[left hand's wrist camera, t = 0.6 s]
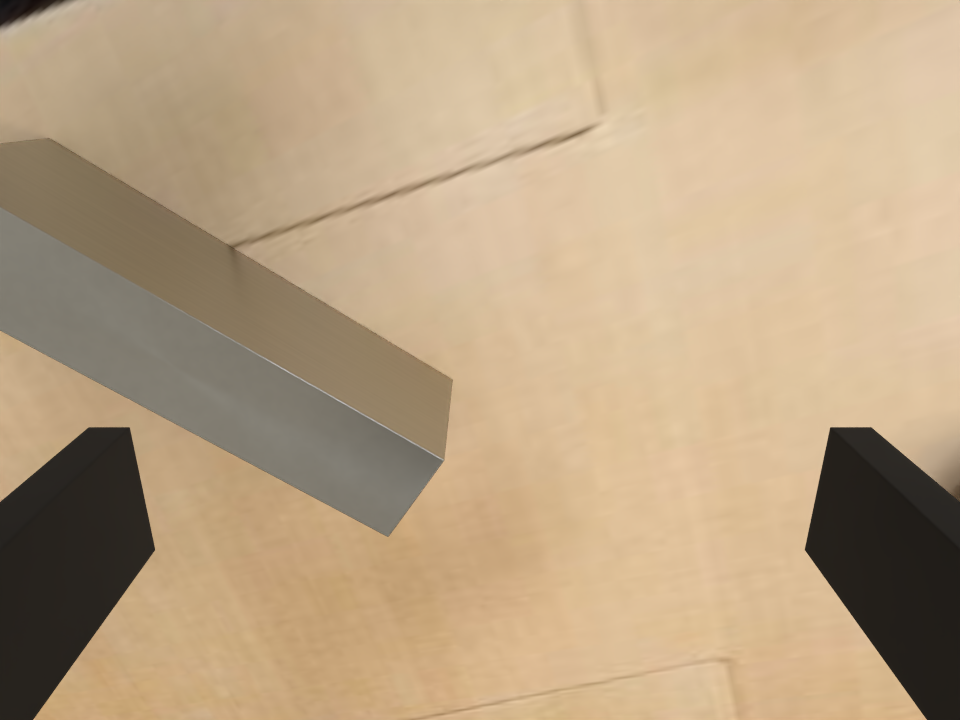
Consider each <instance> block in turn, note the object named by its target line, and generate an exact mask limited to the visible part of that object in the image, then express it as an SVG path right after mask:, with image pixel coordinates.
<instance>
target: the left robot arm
mask: <svg viewBox="0 0 960 720" xmlns="http://www.w3.org/2000/svg"><path fill="white" fill-rule="evenodd" d="M154 551H155V547H154V542H153V537H152V532H151V528H150V523H149V518H148V513H147V508H146V504H145V499H144V494H143V489H142V484H141V480H140V475H139V470H138V465H137V460H136V456H135V451H134V446H133V441H132V436H131V432H130V427H89V428H88V429H86V430H85V431H84V432H83V433H82V434H80V435H79V436H78V437H77V438H76V439H74V440H73V441H72V442H71V443H70V444H69V445H67V446H66V447H65V448H64V449H63V450H61V451H60V452H59V453H58V454H57V455H56V456H54V457H53V458H52V459H51V460H50V461H48V462H47V463H46V464H45V465H44V466H42V467H41V468H40V469H39V470H38V471H37V472H35V473H34V474H33V475H32V476H31V477H29V478H28V479H27V480H26V481H25V482H23V483H22V484H21V485H20V486H19V487H18V488H16V489H15V490H14V491H13V492H12V493H10V494H9V495H8V496H7V497H6V498H4V499H3V500H2V501H1V502H0V720H33V719H34V718H35V716H36V715H37V714H38V712H39V711H40V709H41V708H42V707H43V705H44V704H45V702H46V701H47V700H48V698H49V697H50V695H51V694H52V693H53V691H54V690H55V688H56V687H57V686H58V684H59V683H60V682H61V680H62V679H63V677H64V676H65V675H66V673H67V672H68V670H69V669H70V668H71V666H72V665H73V663H74V662H75V661H76V659H77V658H78V656H79V655H80V654H81V652H82V651H83V650H84V648H85V647H86V645H87V644H88V643H89V641H90V640H91V638H92V637H93V636H94V634H95V633H96V631H97V630H98V629H99V627H100V626H101V624H102V623H103V622H104V620H105V619H106V618H107V616H108V615H109V613H110V612H111V611H112V609H113V608H114V606H115V605H116V604H117V602H118V601H119V599H120V598H121V597H122V595H123V594H124V592H125V591H126V590H127V588H128V587H129V586H130V584H131V583H132V581H133V580H134V579H135V577H136V576H137V574H138V573H139V572H140V570H141V569H142V567H143V566H144V565H145V563H146V562H147V560H148V559H149V558H150V556H151V555H152V554H153V552H154ZM805 551H806V552H807V554H808V555H809V556H810V558H811V559H812V560H813V562H814V563H815V565H816V566H817V567H818V569H819V570H820V572H821V573H822V574H823V576H824V577H825V579H826V580H827V581H828V583H829V584H830V586H831V587H832V588H833V590H834V591H835V592H836V594H837V595H838V597H839V598H840V599H841V601H842V602H843V604H844V605H845V606H846V608H847V609H848V611H849V612H850V613H851V615H852V616H853V618H854V619H855V620H856V622H857V623H858V624H859V626H860V627H861V629H862V630H863V631H864V633H865V634H866V636H867V637H868V638H869V640H870V641H871V643H872V644H873V645H874V647H875V648H876V650H877V651H878V652H879V654H880V655H881V656H882V658H883V659H884V661H885V662H886V663H887V665H888V666H889V668H890V669H891V670H892V672H893V673H894V675H895V676H896V677H897V679H898V680H899V682H900V683H901V684H902V686H903V687H904V688H905V690H906V691H907V693H908V694H909V695H910V697H911V698H912V700H913V701H914V702H915V704H916V705H917V707H918V708H919V709H920V711H921V712H922V714H923V715H924V716H925V718H926V719H927V720H960V502H959V501H958V500H957V499H956V498H954V497H953V496H952V495H951V494H950V493H948V492H947V491H946V490H945V489H944V488H942V487H941V486H940V485H939V484H938V483H937V482H935V481H934V480H933V479H932V478H931V477H929V476H928V475H927V474H926V473H925V472H923V471H922V470H921V469H920V468H919V467H918V466H916V465H915V464H914V463H913V462H912V461H910V460H909V459H908V458H907V457H906V456H904V455H903V454H902V453H901V452H900V451H899V450H897V449H896V448H895V447H894V446H893V445H891V444H890V443H889V442H888V441H887V440H886V439H884V438H883V437H882V436H881V435H880V434H878V433H877V432H876V431H875V430H874V429H872V428H871V427H830V432H829V436H828V441H827V446H826V451H825V456H824V460H823V465H822V470H821V475H820V480H819V484H818V489H817V494H816V499H815V504H814V508H813V513H812V518H811V523H810V528H809V532H808V537H807V542H806V547H805Z"/></svg>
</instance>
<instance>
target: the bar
mask: <svg viewBox="0 0 960 720" xmlns="http://www.w3.org/2000/svg"><path fill="white" fill-rule="evenodd" d="M0 331H2V332H4V333H6V334H8V335H10V336H11V337H13V338H15V339H17V340H19V341H21V342H23V343H25V344H26V345H28V346H30V347H32V348H34V349H36V350H38V351H40V352H42V353H43V354H45V355H47V356H49V357H51V358H53V359H55V360H57V361H58V362H60V363H62V364H64V365H66V366H68V367H70V368H72V369H73V370H75V371H77V372H79V373H81V374H83V375H85V376H87V377H88V378H90V379H92V380H94V381H96V382H98V383H100V384H102V385H104V386H105V387H107V388H109V389H111V390H113V391H115V392H117V393H119V394H120V395H122V396H124V397H126V398H128V399H130V400H132V401H134V402H135V403H137V404H139V405H141V406H143V407H145V408H147V409H149V410H150V411H152V412H154V413H156V414H158V415H160V416H162V417H164V418H166V419H167V420H169V421H171V422H173V423H175V424H177V425H179V426H181V427H182V428H184V429H186V430H188V431H190V432H192V433H194V434H196V435H197V436H199V437H201V438H203V439H205V440H207V441H209V442H211V443H212V444H214V445H216V446H218V447H220V448H222V449H224V450H226V451H227V452H229V453H231V454H233V455H235V456H237V457H239V458H241V459H243V460H244V461H246V462H248V463H250V464H252V465H254V466H256V467H258V468H259V469H261V470H263V471H265V472H267V473H269V474H271V475H273V476H274V477H276V478H278V479H280V480H282V481H284V482H286V483H288V484H289V485H291V486H293V487H295V488H297V489H299V490H301V491H303V492H305V493H306V494H308V495H310V496H312V497H314V498H316V499H318V500H320V501H321V502H323V503H325V504H327V505H329V506H331V507H333V508H335V509H336V510H338V511H340V512H342V513H344V514H346V515H348V516H350V517H351V518H353V519H355V520H357V521H359V522H361V523H363V524H365V525H366V526H368V527H370V528H372V529H374V530H376V531H378V532H380V533H382V534H383V535H385V536H387V537H388V536H389V535H390V534H391V533H392V531H393V530H394V529H395V527H396V526H397V524H398V523H399V522H400V520H401V519H402V518H403V516H404V515H405V514H406V512H407V511H408V509H409V508H410V507H411V505H412V504H413V503H414V501H415V500H416V498H417V497H418V496H419V494H420V493H421V492H422V490H423V489H424V487H425V486H426V485H427V483H428V482H429V481H430V479H431V478H432V477H433V475H434V474H435V472H436V471H437V470H438V468H439V467H440V466H441V464H442V463H443V461H444V458H445V448H446V439H447V429H448V419H449V410H450V400H451V391H452V381H453V380H452V379H450V378H448V377H447V376H445V375H443V374H442V373H440V372H438V371H437V370H435V369H433V368H432V367H430V366H428V365H427V364H425V363H423V362H422V361H420V360H418V359H417V358H415V357H413V356H412V355H410V354H408V353H407V352H405V351H403V350H402V349H400V348H398V347H397V346H395V345H393V344H392V343H390V342H388V341H387V340H385V339H383V338H382V337H380V336H378V335H377V334H375V333H373V332H372V331H370V330H368V329H367V328H365V327H363V326H362V325H360V324H358V323H357V322H355V321H353V320H352V319H350V318H348V317H347V316H345V315H343V314H342V313H340V312H338V311H337V310H335V309H333V308H332V307H330V306H328V305H327V304H325V303H323V302H322V301H320V300H318V299H317V298H315V297H313V296H312V295H310V294H308V293H307V292H305V291H303V290H302V289H300V288H298V287H297V286H295V285H293V284H292V283H290V282H288V281H287V280H285V279H283V278H282V277H280V276H278V275H277V274H275V273H273V272H272V271H270V270H268V269H266V268H265V267H263V266H261V265H260V264H258V263H256V262H255V261H253V260H251V259H250V258H248V257H246V256H245V255H243V254H241V253H240V252H238V251H236V250H235V249H233V248H231V247H230V246H228V245H226V244H225V243H223V242H221V241H220V240H218V239H216V238H215V237H213V236H211V235H210V234H208V233H206V232H205V231H203V230H201V229H200V228H198V227H196V226H195V225H193V224H191V223H190V222H188V221H186V220H185V219H183V218H181V217H180V216H178V215H176V214H175V213H173V212H171V211H170V210H168V209H166V208H165V207H163V206H161V205H160V204H158V203H156V202H155V201H153V200H151V199H150V198H148V197H146V196H145V195H143V194H141V193H140V192H138V191H136V190H135V189H133V188H131V187H130V186H128V185H126V184H125V183H123V182H121V181H120V180H118V179H116V178H115V177H113V176H111V175H110V174H108V173H106V172H105V171H103V170H101V169H100V168H98V167H96V166H95V165H93V164H91V163H90V162H88V161H86V160H85V159H83V158H81V157H80V156H78V155H76V154H75V153H73V152H71V151H70V150H68V149H66V148H65V147H63V146H61V145H60V144H58V143H56V142H55V141H53V140H51V139H50V138H46V139H37V140H28V141H19V142H9V143H0Z"/></svg>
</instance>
